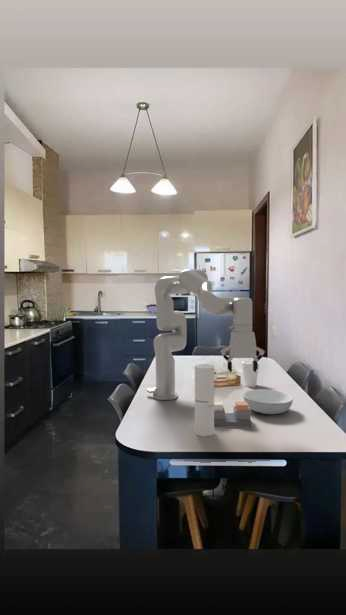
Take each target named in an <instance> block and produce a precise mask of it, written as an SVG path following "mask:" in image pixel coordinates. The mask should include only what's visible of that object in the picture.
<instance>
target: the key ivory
mask: <svg viewBox="0 0 346 615" xmlns="http://www.w3.org/2000/svg"><path fill="white" fill-rule="evenodd" d="M223 407H224V404H223V402H222V401H214V411H223Z"/></svg>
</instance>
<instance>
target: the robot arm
mask: <svg viewBox="0 0 346 615" xmlns="http://www.w3.org/2000/svg"><path fill="white" fill-rule="evenodd" d="M212 290H213V284H212V283H211V281H210V280H209V276H208V274H207V273H206V272H205V270H203V269H197V268H196V269H195V268H186V269H184V270H181V271H180V273H178V276H176V275H175V276H173V275H171V276H163V277H160V278H159V279H158V280H156V282H155V286H154V295H155V296H154V297H155V301H156V303H155V304H156V308H155V309H156V314H155V315H156V327H157V329H158V330H159V331H163V332H164V331H165V332H164V333H160V334H158V335H156V336H155V337H154V339H153V349H154V354H155V386H154V387H153V388H152V387H151V388H150V387H149V388H147V389H146V393H149V394H152V398H153V399H155V400H158V401H160V400H161V401H170V400H175V399H177V398H179V394H178V392H176V365H175V364H176V361H175V358H174V356H173V352H179V351H183V350H184V349H185V347H186V345H187V329H188V327H187V326H188V325H187V318H186V316H185V314H184V312H182V311H180V310H175V309H174V308H175V307H174V305H175V304H174V301H173V300H174V299H173V298H172V296H171V295H186V294H189V293H192V294H193V295H194V296H196V297H197V299H198V303H199V304H200V306H201V307H202V308H203V309H204V310H205V311H207V312H208V313H209V314H211V315H213V316H216V317H223V316H232V325H229V326H228V327H229V330H231V333H230V337H229V339H230V340H229V346H227V347H225V348H223V349H221V350H220V353H221V355H222V358H223V359H224V360H225V361H226V362H227V370H228V371H229V373H233V372H232V371H233V362H232V360H233V359H253V360H252V361H253V371H254V372H256V370H257V369H258V362H260V360H261V359H262V358H263V355H265V351H266V350H264V349H262V348H260V347H258V346H257V341H256V335H255V332H254V331H253V300H252V298H249V297H235V296H220V297H219V296H217V295H215V294H213V293H212ZM167 331H172V332H167ZM226 352H228V353H229V355H228V356H227V355H226ZM257 352H259V354H258V355H257ZM258 370H259V369H258Z"/></svg>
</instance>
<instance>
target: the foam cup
mask: <svg viewBox="0 0 346 615" xmlns="http://www.w3.org/2000/svg"><path fill="white" fill-rule="evenodd" d="M253 361H254V360H242V361H241V367H242V374H243V375H242V376H243V381H244V387H247V388H254V387H256V386H257V382H258V375H259V369H260V361H258V369H257V370H256V372H254V371H253Z"/></svg>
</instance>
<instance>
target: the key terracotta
mask: <svg viewBox="0 0 346 615" xmlns="http://www.w3.org/2000/svg"><path fill="white" fill-rule="evenodd" d="M235 406H236V411H248V408H249V407H248V403H247V402H245V401H235Z"/></svg>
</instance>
